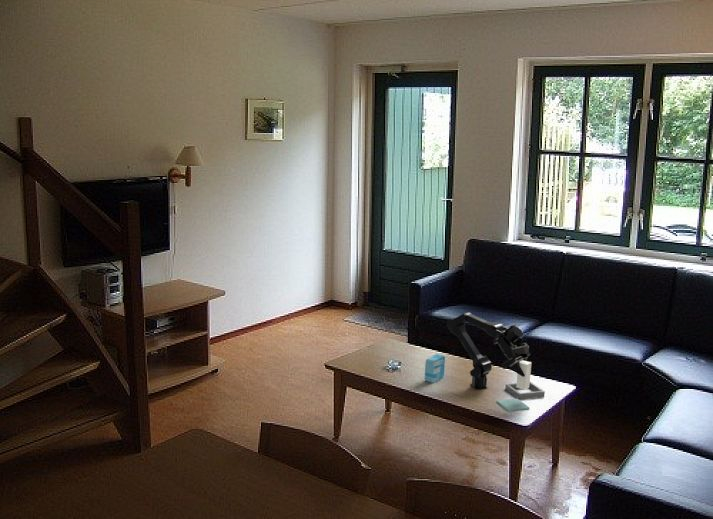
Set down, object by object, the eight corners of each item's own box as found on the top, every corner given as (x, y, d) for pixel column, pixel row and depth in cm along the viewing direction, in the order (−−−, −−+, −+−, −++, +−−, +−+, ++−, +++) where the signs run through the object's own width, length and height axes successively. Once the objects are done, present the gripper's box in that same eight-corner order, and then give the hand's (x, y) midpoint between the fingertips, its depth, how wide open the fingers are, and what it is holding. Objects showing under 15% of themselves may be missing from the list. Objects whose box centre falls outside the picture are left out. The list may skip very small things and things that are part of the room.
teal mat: (508, 411, 320) (508, 409, 320) (496, 402, 330) (496, 400, 330) (529, 409, 323) (529, 407, 323) (517, 400, 334) (517, 398, 333)
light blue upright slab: (431, 383, 350) (433, 361, 348) (424, 381, 353) (425, 359, 351) (444, 377, 360) (445, 355, 357) (436, 375, 362) (437, 353, 360)
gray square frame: (518, 398, 335) (519, 394, 334) (505, 388, 347) (505, 384, 347) (544, 396, 339) (544, 391, 339) (530, 386, 351) (530, 381, 351)
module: (516, 387, 331) (518, 362, 328) (520, 384, 334) (522, 360, 331) (524, 390, 328) (527, 364, 325) (529, 387, 331) (531, 362, 329)
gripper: (509, 342, 322) (529, 371, 317) (528, 334, 336) (547, 361, 331) (493, 354, 328) (512, 383, 323) (512, 346, 342) (531, 373, 337)
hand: (526, 375), depth 329 cm, fingers closed on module, 4 cm apart
